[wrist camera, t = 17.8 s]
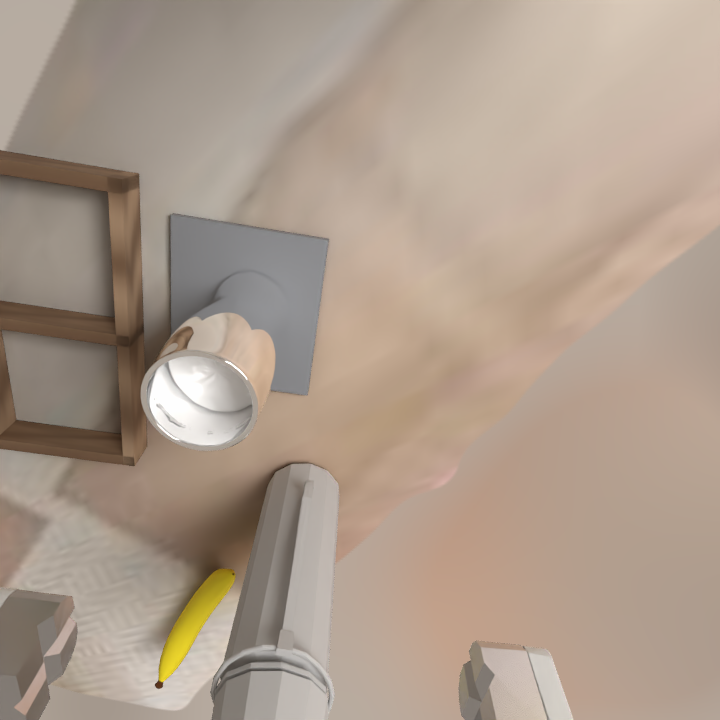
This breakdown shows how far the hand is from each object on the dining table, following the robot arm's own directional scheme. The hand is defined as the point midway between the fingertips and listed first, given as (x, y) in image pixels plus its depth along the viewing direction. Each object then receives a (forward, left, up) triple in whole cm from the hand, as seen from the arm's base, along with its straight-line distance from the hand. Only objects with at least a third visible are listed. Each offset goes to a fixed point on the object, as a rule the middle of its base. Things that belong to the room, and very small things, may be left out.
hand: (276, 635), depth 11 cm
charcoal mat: (+7, -7, -33) cm, 35 cm away
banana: (+41, -9, -33) cm, 54 cm away
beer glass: (+6, -6, -33) cm, 34 cm away
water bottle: (+24, 0, -33) cm, 41 cm away
